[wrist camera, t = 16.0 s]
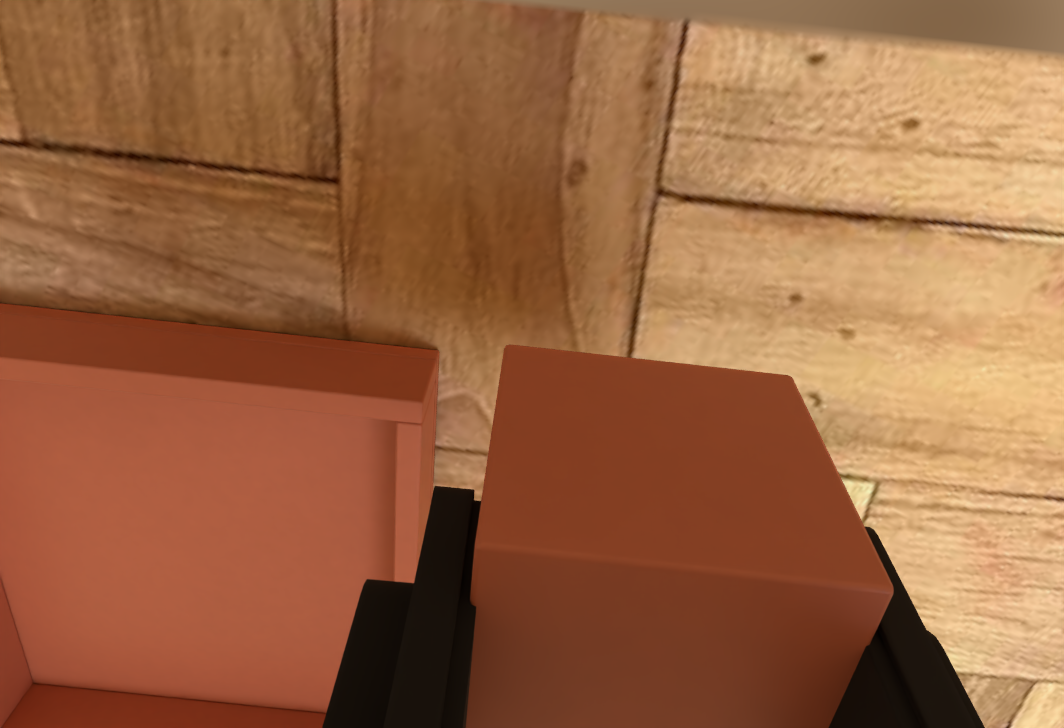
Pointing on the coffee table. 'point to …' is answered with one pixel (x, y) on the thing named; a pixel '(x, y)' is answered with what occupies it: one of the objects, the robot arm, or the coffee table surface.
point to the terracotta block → (663, 552)
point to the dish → (197, 515)
